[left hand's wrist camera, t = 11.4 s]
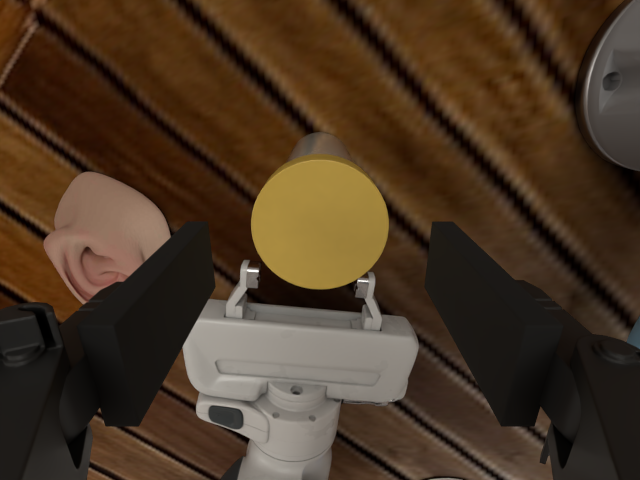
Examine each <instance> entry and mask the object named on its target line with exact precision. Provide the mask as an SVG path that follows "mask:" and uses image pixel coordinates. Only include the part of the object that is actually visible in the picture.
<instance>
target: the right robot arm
mask: <svg viewBox="0 0 640 480" xmlns="http://www.w3.org/2000/svg"><path fill="white" fill-rule="evenodd" d="M261 267H262V262H260V261H251V260H244V261H243V263H242V265H241V271H240V281H239V283H238V284H237V285H236V287H235V288H234V289H233V291H232V292H231V294H230V297H229V299H228V301H226V300H215V299H209V300H208V301H207V303H206V305H205V307H204V309H203V310H202V312H201V314H200V316H199V318H198V320H197V321H196V323H195V325H194V327H193V329H192V330H191V332H190V334H189V336H188V338H187V339H186V341H185V343H184V345H183V353H184V359H185V365H186V370H187V374H188V377H189V380H190V382H191V383H192V385H193V386H194V387H195V388H196V389H197V390H198V391H199V392H200V393H199V396H198V401H197V405H196V413H197V415H198V417H199V418H201V419H202V420H205V421H207V422H211V423H214V424H217V425H220V426H223V427H225V428H228V429H231V430H233V431H236V432H238V433H240V434H242V435H244V436H246V437H248V438H250V441H249V444H248V448H247V454H246V456H245V457H244V456H242V457H241V458H239V459H238V460H237V461H236V462H235V463H234V464H233V465H232V466H231V467H230V468H229V469H228V471H227V472H226V473H225V474H224V475H223V476H222V477H221V479H220V480H328V477H329V473H330V467H331V461H332V450H331V446H332V444H333V442H334V439H335V436H336V431H337V425H338V419H339V413H340V406H341V404H342V403H346V404H374V405H375V406H387V405H388V402H394V401H397V400H399V399H402V398H403V397H404V395H405V393H406V389H407V385H408V377H409V375H410V372H411V370H412V367H413V365H414V362H415V359H416V356H417V353H418V349H419V344H418V339H417V336H416V333H415V331H414V329H413V327H412V326H411V324H410V323H409V321H408V320H407V319H406V318H405V317H402V316H392V315H381V313H380V309H379V306H378V303H377V301H376V299H375V297H374V294H373V293H374V287H375V276H374V273H373V272H366V273H365V274H364V275H362V276H361V277H360V278H358V279H356V280H355V281H354V285H353V288H354V291H355V292H354V294H355V297H357V298H365V301H366V303H367V305H363V309H362V313H358V312H347V311H336V310H326V309H315V308H304V307H293V306H282V305H271V304H259V303H248V302H247V294H244V293H245V291H246V290H247V288H258V286H259V282H260V280H261ZM429 480H461V479H456V478H436V479H429Z"/></svg>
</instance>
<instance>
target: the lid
mask: <svg viewBox="0 0 640 480" xmlns="http://www.w3.org/2000/svg"><path fill="white" fill-rule="evenodd" d="M251 230H252V237H253V241H254V244H255V247H256V249H257V251H258V254H259V255H260V257H261V258H262V260H263V261H264V263H265V264H266V265H267V266H268V267H269V268H270V269H271V270H272V271H273V272H274V273H275V274H276V275H278V276H279V277H280V278H282V279H284V280H286V281H287V282H289V283H292V284H294V285H297V286H300V287H304V288H309V289H331V288H336V287H340V286H343V285H346V284H348V283H351V282H353V281H355V280H356V279H358V278H360V277H361V276H362V275H364V274H365V273H366V272H367V271H368V270H369V269H370V268H371V267H372V266H373V265H374V264H375V263H376V261H377V260H378V258H379V257H380V255H381V253H382V251H383V249H384V247H385V244H386V241H387V237H388V230H389V218H388V212H387V208H386V205H385V202H384V200H383V197H382V195H381V193H380V192H379V190H378V189H377V187H376V185H375V184H374V182H373V181H372V179H371V178H370V177H369V176H368V175H367V173H366V172H365V171H363V170H362V169H361V168H360V167H359V166H357V165H356V164H354V163H353V162H351V161H349V160H347V159H344V158H341V157H338V156H334V155H329V154H310V155H306V156H301V157H299V158H296V159H293V160H291V161H289V162H287V163H286V164H284V165H283V166H281V167H280V168H279V169H278V170H277V171H276V172H274V173H273V174H272V176H271V177H270V178H269V179H268V181H267V182H266V184H265V185H264V187H263V189H262V190H261V192H260V194H259V195H258V197H257V200H256V202H255V204H254V208H253V212H252V219H251Z"/></svg>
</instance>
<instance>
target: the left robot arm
mask: <svg viewBox="0 0 640 480" xmlns="http://www.w3.org/2000/svg"><path fill="white" fill-rule="evenodd" d="M575 108H576V116H577V121H578V125H579V128H580V130H581V133H582V135H583V137H584V139H585V141H586V142H587V144H588V145H589V146H590V148H591V149H592V150H593V151H594V152H595V153H596V154H597V155H599V156H600V157H601V158H603V159H604V160H606V161H608V162H610V163H612V164H614V165H617V166H620V167H624V168H628V169H632V170H637V171H640V0H625V1H624V2H623V3H621V4H620V5H619V6H618V7H617V8H616V10H615V11H614V12H613V13H612V14H611V15H610V16H609V18H608V19H607V20H606V21H605V22H604V24H603V25H602V27H601V28H600V30H599V31H598V32H597V34H596V36H595V37H594V39H593V41H592V42H591V44H590V46H589V48H588V50H587V52H586V55H585V57H584V60H583V62H582V65H581V68H580V72H579V75H578V80H577V85H576V93H575ZM214 289H215V278H214V270H213V262H212V253H211V245H210V237H209V228H208V222H186V223H185V224H184V225H183V226H182V227H181V228H180V229H179V230H178V231H177V232H176V233H175V234H174V235H173V236H172V237H170V238H169V239H168V240H167V241H166V242H165V243H164V244H163V245H162V246H161V247H160V248H159V249H158V250H157V251H156V252H154V253H153V254H152V255H151V256H150V257H149V258H148V259H147V260H146V261H145V262H144V263H143V264H142V265H141V266H140V267H139V268H137V269H136V270H135V271H134V272H133V273H132V274H131V275H130V276H129V277H128V278H127V279H126V280H125V281H124V282H115V283H113V284H111V285H109V286H107V287H105V288H103V289H101V290H100V291H99V292H97V293H96V294H95V295H94V296H93V297H92V298H91V299H90V300H88V301H89V302H86V303H85V304H84V305H83V306H82V307H80V308H79V311H76V312H75V313H74V314H72V315H71V316H70V317H69V318H68V319H67V320H66V321H64V322H63V323H62V324H61V325H60V326H59V325H58V322H57V319H56V316H55V313H54V309H53V307H52V306H51V305H49V304H47V303H40V302H32V303H23V304H18V305H14V306H10V307H6V308H3V309H1V310H0V480H87V474H88V467H89V460H90V453H91V446H92V440H93V437H92V430H91V427H90V424H89V422H90V420H91V419H92V418H93V416H94V415H95V413H96V412H97V411H98V409H99V408H100V409H101V412H102V416H103V419H104V423H105V426H139V425H140V423H141V421H142V419H143V418H144V416H145V414H146V412H147V410H148V409H149V407H150V405H151V403H152V401H153V399H154V398H155V396H156V394H157V392H158V390H159V389H160V387H161V385H162V383H163V381H164V379H165V378H166V376H167V374H168V372H169V370H170V369H171V367H172V365H173V363H174V361H175V359H176V358H177V356H178V354H179V352H180V350H181V349H182V347H183V345H184V343H185V341H186V339H187V338H188V336H189V334H190V332H191V330H192V329H193V327H194V325H195V323H196V321H197V320H198V318H199V316H200V314H201V312H202V310H203V309H204V307H205V305H206V303H207V301H208V300H209V298H210V296H211V294H212V292H213V290H214ZM425 289H426V290H427V292H428V294H429V296H430V298H431V300H432V301H433V303H434V305H435V307H436V309H437V310H438V312H439V314H440V316H441V318H442V320H443V321H444V323H445V325H446V327H447V329H448V330H449V332H450V334H451V336H452V338H453V339H454V341H455V343H456V345H457V347H458V349H459V350H460V352H461V354H462V356H463V358H464V359H465V361H466V363H467V365H468V367H469V369H470V370H471V372H472V374H473V376H474V378H475V379H476V381H477V383H478V385H479V387H480V389H481V390H482V392H483V394H484V396H485V398H486V399H487V401H488V403H489V405H490V407H491V409H492V410H493V412H494V414H495V416H496V418H497V419H498V421H499V423H500V425H501V426H535V423H536V419H537V416H538V412H539V409H540V406H541V407H542V409H543V410H544V411H545V413H546V414H547V416H548V417H549V418H550V420H551V424H550V427H549V430H548V434H547V437H546V440H545V443H544V446H543V450H542V453H541V457H540V463H543V464H546V461H547V458H548V456H549V455H550V459H551V466H552V473H553V480H640V316H639V318H638V320H637V321H636V323H635V325H634V327H633V329H632V331H631V332H630V334H629V337H628V340H627V342H624V341H622V340H619V339H615V338H612V337H608V336H603V335H594V334H591V333H590V332H589V331H588V330H587V329H586V328H585V327H583V326H582V325H581V324H580V323H579V322H578V321H576V320H575V319H574V318H573V317H572V316H571V315H570V314H568V313H567V312H566V311H565V310H562V307H560V306H559V305H558V304H557V303H556V302H555V301H552V299H551V298H550V297H549V296H548V295H547V294H545V293H544V292H543V291H542V290H541V289H539V288H537V287H535V286H533V285H532V284H530V283H528V282H526V281H524V280H514V279H513V278H512V277H511V276H510V275H509V274H508V273H507V272H506V271H505V270H504V269H503V268H501V267H500V266H499V265H498V264H497V263H496V262H495V261H494V260H493V259H492V258H491V257H490V256H489V255H488V254H487V253H486V252H484V251H483V250H482V249H481V248H480V247H479V246H478V245H477V244H476V243H475V242H474V241H473V240H472V239H471V238H470V237H468V236H467V235H466V234H465V233H464V232H463V231H462V230H461V229H460V228H459V227H458V226H457V225H456V224H455V223H454V222H432V228H431V237H430V245H429V253H428V262H427V270H426V278H425Z"/></svg>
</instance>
